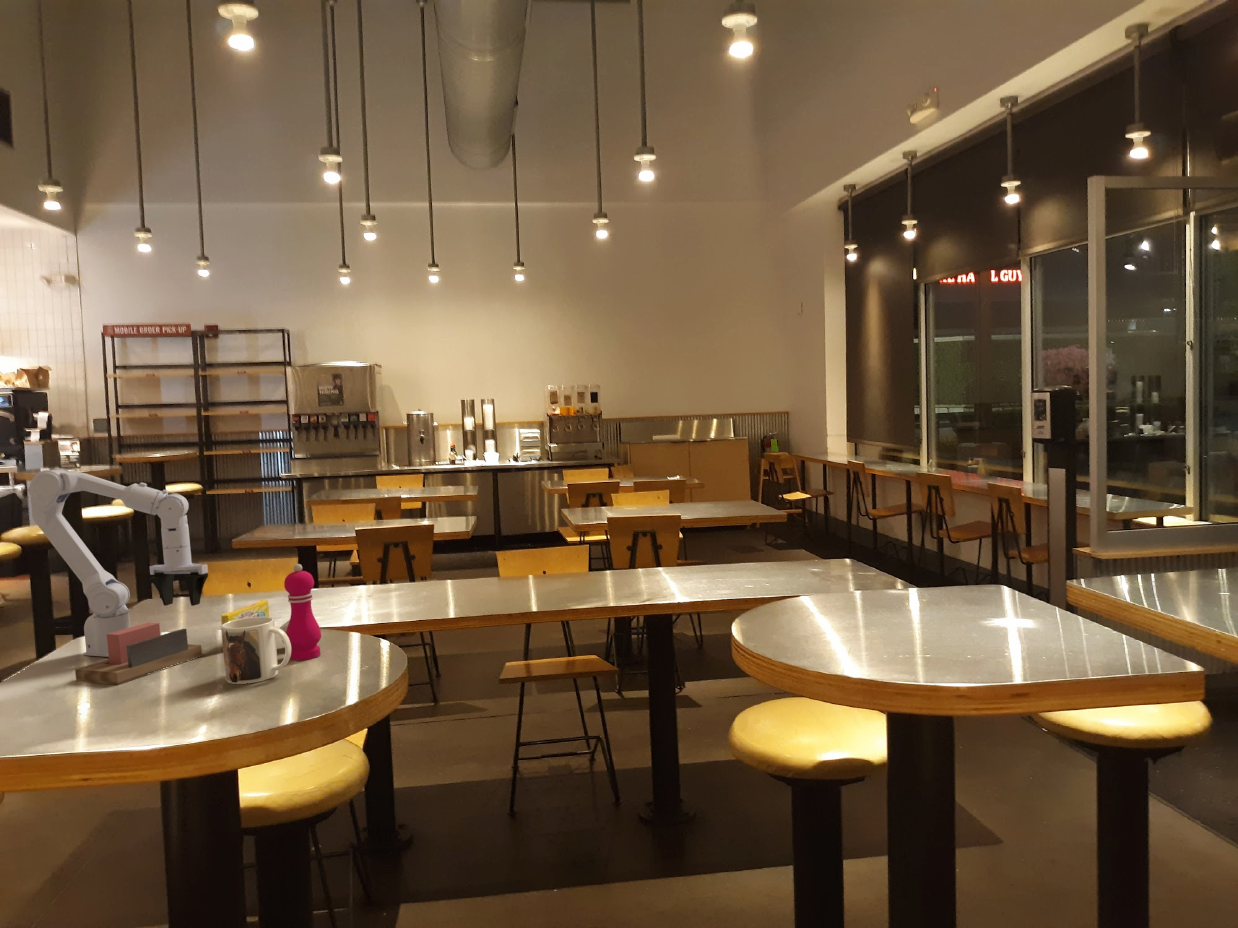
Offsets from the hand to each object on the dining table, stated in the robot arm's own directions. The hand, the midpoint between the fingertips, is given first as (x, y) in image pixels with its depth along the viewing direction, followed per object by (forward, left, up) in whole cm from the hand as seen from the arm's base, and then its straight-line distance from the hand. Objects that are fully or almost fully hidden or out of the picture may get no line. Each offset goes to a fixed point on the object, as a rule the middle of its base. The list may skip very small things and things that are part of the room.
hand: (181, 604), depth 218 cm
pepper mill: (+38, -3, -10) cm, 39 cm away
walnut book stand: (+7, -18, -9) cm, 22 cm away
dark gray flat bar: (+13, -18, -7) cm, 23 cm away
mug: (+39, -18, -10) cm, 44 cm away
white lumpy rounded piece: (+30, +3, -10) cm, 32 cm away
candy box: (+14, +5, -10) cm, 18 cm away
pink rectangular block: (+6, -18, -9) cm, 21 cm away
